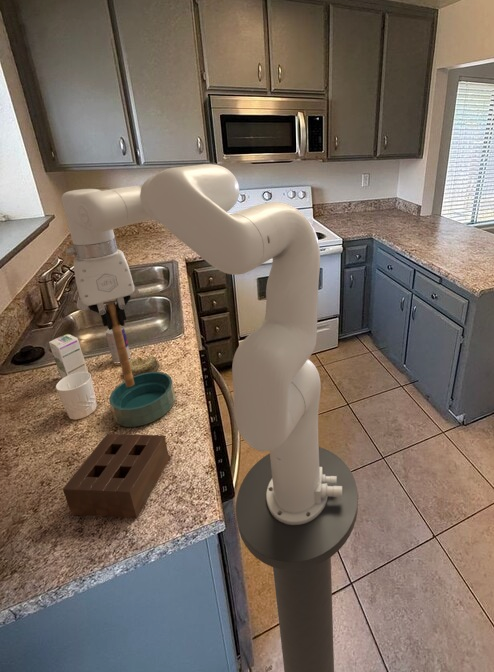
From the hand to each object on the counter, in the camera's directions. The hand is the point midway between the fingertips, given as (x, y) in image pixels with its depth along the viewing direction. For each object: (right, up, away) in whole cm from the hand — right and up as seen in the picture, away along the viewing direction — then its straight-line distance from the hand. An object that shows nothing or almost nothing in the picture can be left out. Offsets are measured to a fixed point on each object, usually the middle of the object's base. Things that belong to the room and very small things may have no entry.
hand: (115, 325), depth 81 cm
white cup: (-19, -27, +17) cm, 38 cm away
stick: (0, -16, +5) cm, 17 cm away
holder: (+4, -34, -4) cm, 34 cm away
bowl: (-2, -26, +18) cm, 32 cm away
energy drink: (-21, -20, +39) cm, 49 cm away
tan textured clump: (-11, -21, +34) cm, 42 cm away
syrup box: (-30, -23, +30) cm, 49 cm away
